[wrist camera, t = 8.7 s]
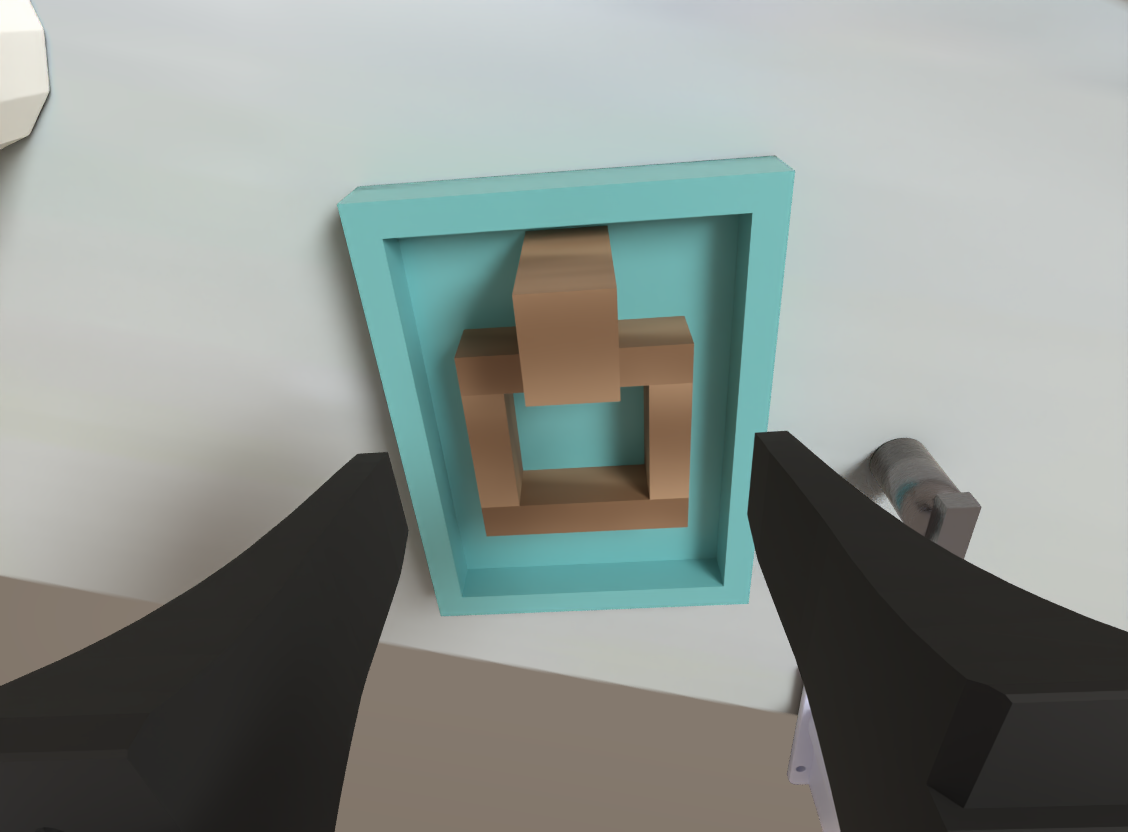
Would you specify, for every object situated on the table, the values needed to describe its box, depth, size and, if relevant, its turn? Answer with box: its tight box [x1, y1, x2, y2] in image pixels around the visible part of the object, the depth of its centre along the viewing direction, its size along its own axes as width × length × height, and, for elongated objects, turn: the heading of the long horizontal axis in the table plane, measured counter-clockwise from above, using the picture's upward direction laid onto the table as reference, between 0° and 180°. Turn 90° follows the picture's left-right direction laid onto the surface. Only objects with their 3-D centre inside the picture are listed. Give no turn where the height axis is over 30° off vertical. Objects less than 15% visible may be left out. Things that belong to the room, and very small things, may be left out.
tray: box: [337, 156, 795, 616], centre depth 22 cm, size 16×12×2 cm
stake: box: [870, 438, 981, 559], centre depth 22 cm, size 3×2×4 cm
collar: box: [454, 226, 694, 537], centre depth 20 cm, size 10×7×5 cm
